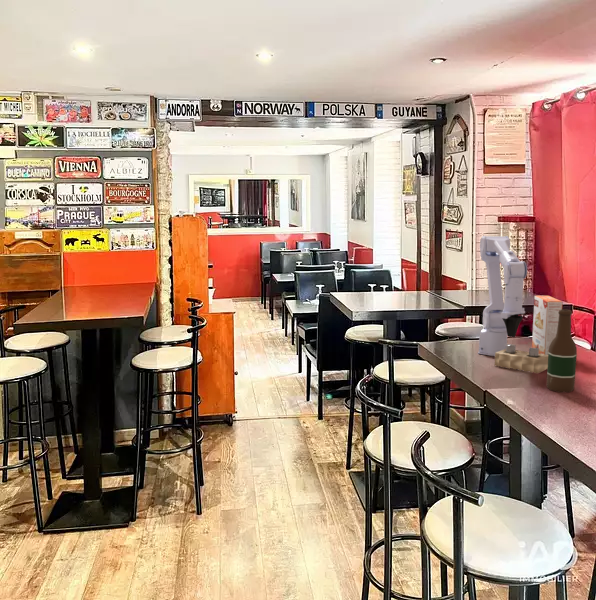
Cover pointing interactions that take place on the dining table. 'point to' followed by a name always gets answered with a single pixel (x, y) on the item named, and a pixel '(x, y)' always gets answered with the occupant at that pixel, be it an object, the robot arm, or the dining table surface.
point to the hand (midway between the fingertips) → (511, 336)
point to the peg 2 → (533, 352)
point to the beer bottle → (562, 356)
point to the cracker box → (545, 322)
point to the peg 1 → (510, 348)
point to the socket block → (521, 361)
